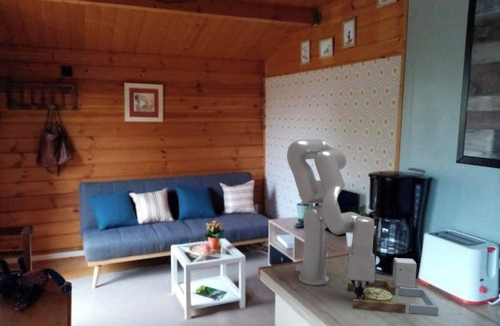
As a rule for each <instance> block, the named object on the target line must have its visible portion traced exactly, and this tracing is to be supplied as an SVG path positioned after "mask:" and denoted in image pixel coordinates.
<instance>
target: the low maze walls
mask: <svg viewBox="0 0 500 326" xmlns="http://www.w3.org/2000/svg"><path fill="white" fill-rule="evenodd" d="M374 281H375V282H374V283H369V284H367V285H366V286H372V287H384V288H386V290H387V291H388V292H390V293H391V295H392V296H393V295H394V296H395V295H396V292H397V291H396V289H397V286H395V285H392V284H391V282H390V280H389V279H381V278H379V279H378V278H375V279H374ZM358 284H359V285H360V284H361V281H358ZM346 287H347V288H346V289H347V292H355V285H354V284H353V283H352V282H349V281H347V286H346ZM352 309H354V310H355V309H356V310H357V309H358V310H366V311H367V310H369V311H378V312H379V311H380V312H381V311H382V312H393V313H400V314H401V313H403V314H406V311H407V304H406V303H403V302H392V301H391V302H382V301H371V300H365V299H357V298H353V299H352Z"/></svg>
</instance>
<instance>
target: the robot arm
mask: <svg viewBox="0 0 500 326" xmlns="http://www.w3.org/2000/svg"><path fill="white" fill-rule="evenodd" d="M286 160H287V164H288V167H289V169H290V170H291V173H292V175H293V176H292V177H294V178H293V179H294V183H295V185H296V188H297V192H298V196H299V197H300V198H299V199H301V201H302V203H303V204H306V205H314V204H318V205H315V206H311V207H309V208H307V209H306V210H305V212H304V213H303V228H304V241H303V242H304V243H303V259H302V265H301V264H296V266H295V271H297V272H299V274H298V281H300V282H301V283H303V284H306V285H310V286H316V287H317V286H325V285H327V284H328V283H329V281H330V279H329V277H328V275H326V269H327V257H328V256H327V253H328V235H327V233H326V229H327V228H328V229H329V231H330V232H331V233H332V234H334V235H342V234H346V233H352V240H351V242H352V243H351V245H347V250H350V251H349V254H348V257H347V263H346V271H345V272H346V275H345V281H347V282H350V283H353V284H354V285H355V291H354V295H356V299H357V298H360V299H362V296H363V291H364V287H365V286H366V285H367V284H369V283H374V282H375V281H374V279H376V265H375V256H374V254H373V253H372V249H373V235H374V233H375V232H374V231H375V220H374V219H373V218H371V217H369V216H364V215H361V214H358V213H356V212H354V211H353V212H352V211H348V212H342V211H341V209H340V205H339V202H338V198H339V195H340V193H341V191H342V190H343V189H344V188H345V187H346V183H345V181H344V178H343V175H342V173H341V172H342V171H341V170H343V169H344V168H345V166H346V164H347V157H346V155H345V153H344V152H343V151H342V150H341V149H339V148H337V147H335V146H334V145H332V144H331V143H328V142H327V141H325V140H322V139H317V138H316V139H315V138H314V139H312V138H311V139H309V138H308V139H307V138H306V139H305V138H304V139H297V140H295V141H293V142H291V144H290V145H289V146H288V149H287V153H286ZM307 160H314V164H315V169H316V170H317V174H318V176H319V179H320V180H319V179H318V180H317V179H316V177H315V173H314V170H313V168H312V167H311V165H310V164H309V163H308V162H307ZM358 281H361V284H360V285H359V284H358Z"/></svg>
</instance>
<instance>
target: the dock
mask: <svg viewBox="0 0 500 326" xmlns="http://www.w3.org/2000/svg"><path fill="white" fill-rule="evenodd" d="M398 295H399V296H402V297H403V296H404V297H414V298H415V297H417V298H422V300H423V301H424V304H420V303H419V304H418V303H409V305H408V313H409V314H418V315H429V316H439V306H438V305H437V303H436V302H435V301H434V299H433V298H432V297H431V295H430V294H429V292H427V290H426V289H425V288H417V287H415V288H413V287H399V286H398Z"/></svg>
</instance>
